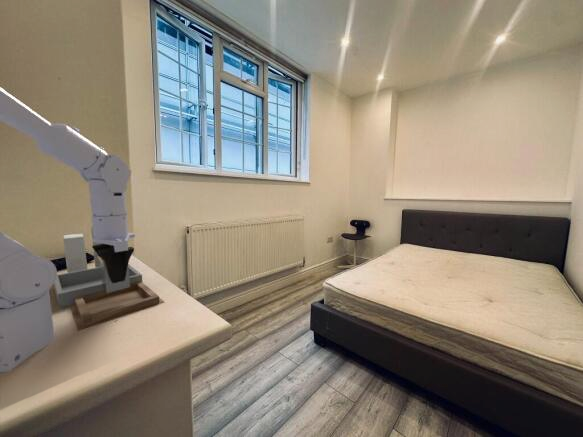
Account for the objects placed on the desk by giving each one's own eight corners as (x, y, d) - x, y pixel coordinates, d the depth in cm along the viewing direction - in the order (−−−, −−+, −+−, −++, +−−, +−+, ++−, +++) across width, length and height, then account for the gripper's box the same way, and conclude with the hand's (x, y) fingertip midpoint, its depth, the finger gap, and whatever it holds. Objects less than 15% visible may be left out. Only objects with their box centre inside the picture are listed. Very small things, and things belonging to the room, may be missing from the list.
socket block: (165, 306, 51) (164, 296, 50) (78, 335, 40) (77, 323, 40) (144, 288, 60) (143, 279, 60) (69, 308, 50) (68, 297, 49)
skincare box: (67, 275, 68) (62, 235, 67) (86, 271, 71) (82, 233, 70) (68, 281, 64) (63, 238, 63) (88, 277, 67) (84, 236, 66)
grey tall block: (131, 287, 50) (129, 255, 49) (105, 293, 47) (102, 259, 46) (125, 281, 53) (123, 251, 52) (101, 287, 50) (97, 255, 49)
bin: (143, 290, 59) (141, 274, 58) (59, 312, 48) (57, 294, 47) (126, 275, 69) (125, 262, 68) (54, 291, 58) (52, 275, 57)
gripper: (143, 216, 46) (148, 282, 48) (123, 211, 55) (127, 266, 57) (98, 219, 41) (105, 293, 42) (84, 213, 50) (90, 274, 52)
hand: (115, 278), depth 49 cm, fingers closed on grey tall block, 4 cm apart
